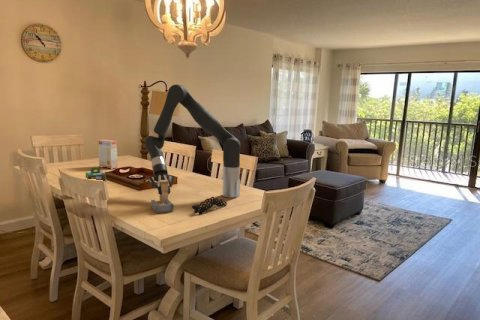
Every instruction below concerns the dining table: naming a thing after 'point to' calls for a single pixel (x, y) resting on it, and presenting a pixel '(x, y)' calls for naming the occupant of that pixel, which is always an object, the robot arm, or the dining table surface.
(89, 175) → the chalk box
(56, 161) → the dining table surface
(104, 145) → the cracker box
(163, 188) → the tan wooden block
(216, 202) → the decorative element
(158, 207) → the end cap
